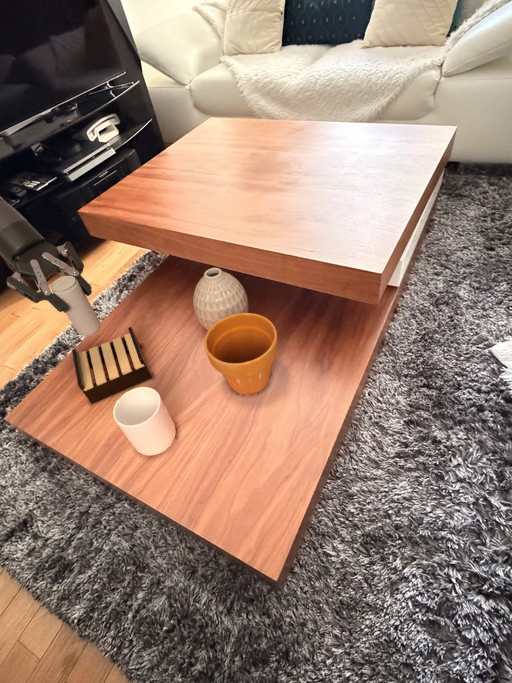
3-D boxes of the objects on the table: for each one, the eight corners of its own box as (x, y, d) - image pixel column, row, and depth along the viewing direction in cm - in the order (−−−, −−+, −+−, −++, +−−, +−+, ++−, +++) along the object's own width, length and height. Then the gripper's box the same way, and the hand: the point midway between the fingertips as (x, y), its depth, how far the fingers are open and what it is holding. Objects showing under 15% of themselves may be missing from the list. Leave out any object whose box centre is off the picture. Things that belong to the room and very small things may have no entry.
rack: (91, 404, 85) (78, 385, 80) (84, 368, 93) (71, 349, 88) (152, 377, 88) (142, 358, 83) (140, 345, 96) (131, 326, 91)
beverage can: (74, 334, 80) (44, 287, 72) (90, 319, 83) (64, 273, 74) (90, 340, 78) (61, 293, 70) (106, 324, 81) (81, 278, 72)
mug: (143, 406, 83) (124, 374, 75) (185, 429, 77) (170, 397, 69) (113, 437, 78) (90, 407, 70) (156, 464, 72) (136, 434, 65)
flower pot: (294, 388, 81) (289, 345, 71) (231, 416, 78) (218, 375, 69) (265, 346, 90) (258, 303, 81) (208, 370, 87) (194, 328, 78)
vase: (221, 354, 90) (205, 299, 78) (191, 328, 98) (173, 274, 86) (262, 326, 95) (253, 270, 83) (231, 303, 103) (219, 249, 91)
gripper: (42, 224, 78) (104, 288, 81) (-25, 262, 70) (46, 331, 73) (43, 204, 72) (110, 274, 74) (-30, 243, 64) (48, 319, 67)
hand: (78, 302), depth 74 cm, fingers closed on beverage can, 5 cm apart
